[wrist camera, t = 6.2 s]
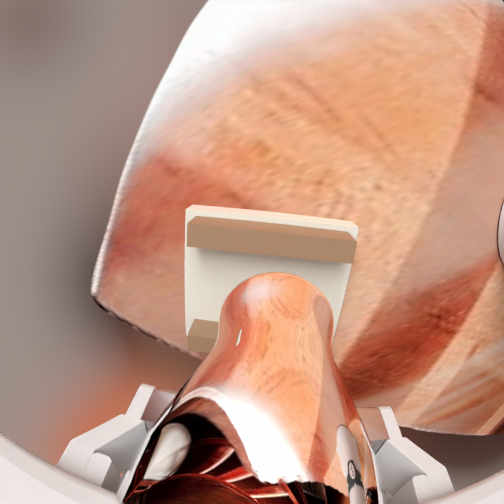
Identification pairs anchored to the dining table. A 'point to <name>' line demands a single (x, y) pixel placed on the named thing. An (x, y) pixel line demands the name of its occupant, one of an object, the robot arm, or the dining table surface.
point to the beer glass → (260, 413)
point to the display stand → (258, 259)
